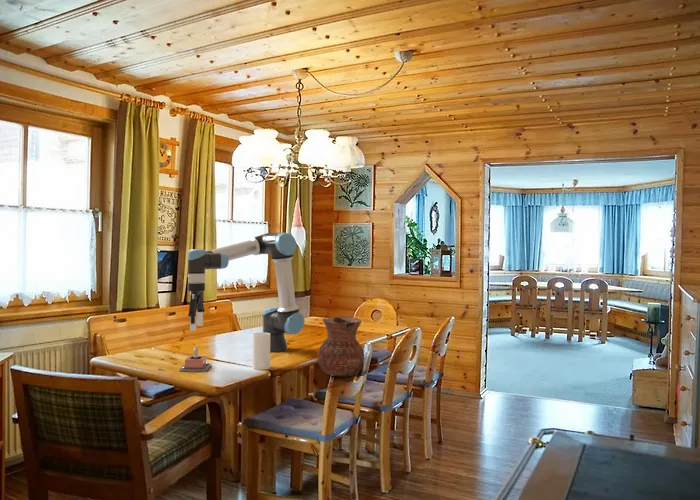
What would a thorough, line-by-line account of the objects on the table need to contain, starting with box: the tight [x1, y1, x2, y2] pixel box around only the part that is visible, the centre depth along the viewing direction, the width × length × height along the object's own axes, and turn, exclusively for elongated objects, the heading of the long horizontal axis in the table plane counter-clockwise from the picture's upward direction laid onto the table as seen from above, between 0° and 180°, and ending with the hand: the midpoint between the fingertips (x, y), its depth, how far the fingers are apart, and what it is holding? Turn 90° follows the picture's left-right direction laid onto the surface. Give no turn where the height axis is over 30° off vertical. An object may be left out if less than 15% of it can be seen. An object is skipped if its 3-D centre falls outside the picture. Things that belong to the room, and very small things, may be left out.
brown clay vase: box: [317, 315, 365, 378], centre depth 248 cm, size 22×21×25 cm
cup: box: [251, 332, 271, 371], centre depth 257 cm, size 8×8×16 cm
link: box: [184, 355, 207, 368], centre depth 253 cm, size 8×8×4 cm
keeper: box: [178, 347, 212, 373], centre depth 253 cm, size 12×12×10 cm
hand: (196, 328), depth 253 cm, fingers open, 13 cm apart
